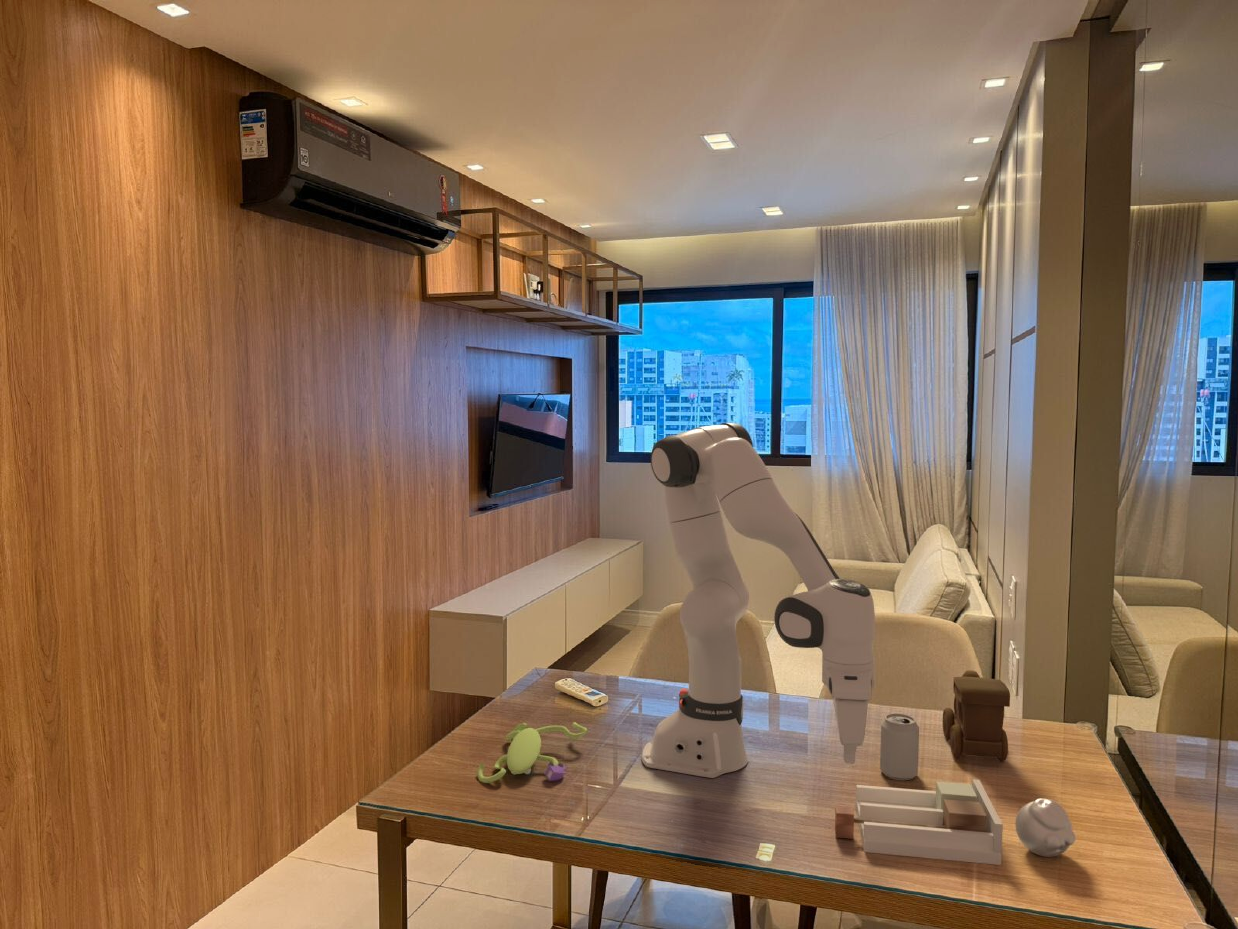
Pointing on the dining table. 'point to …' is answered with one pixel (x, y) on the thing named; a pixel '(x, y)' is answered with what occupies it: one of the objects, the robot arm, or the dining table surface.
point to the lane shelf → (924, 839)
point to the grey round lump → (1044, 828)
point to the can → (899, 746)
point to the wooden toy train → (977, 717)
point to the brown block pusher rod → (954, 817)
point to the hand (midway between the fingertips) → (847, 751)
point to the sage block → (953, 793)
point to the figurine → (529, 752)
